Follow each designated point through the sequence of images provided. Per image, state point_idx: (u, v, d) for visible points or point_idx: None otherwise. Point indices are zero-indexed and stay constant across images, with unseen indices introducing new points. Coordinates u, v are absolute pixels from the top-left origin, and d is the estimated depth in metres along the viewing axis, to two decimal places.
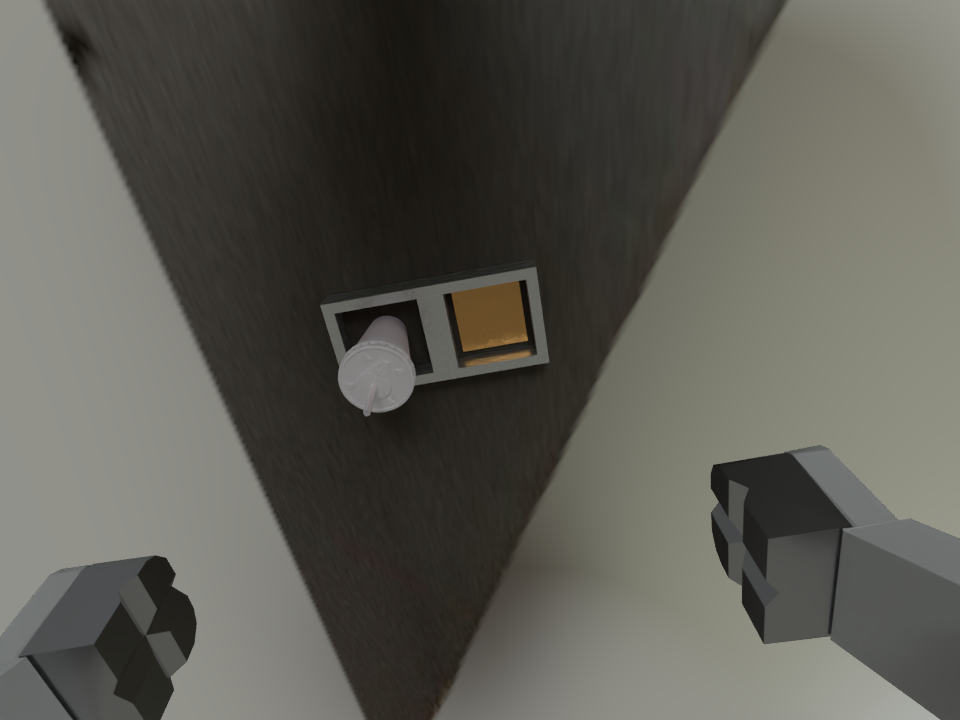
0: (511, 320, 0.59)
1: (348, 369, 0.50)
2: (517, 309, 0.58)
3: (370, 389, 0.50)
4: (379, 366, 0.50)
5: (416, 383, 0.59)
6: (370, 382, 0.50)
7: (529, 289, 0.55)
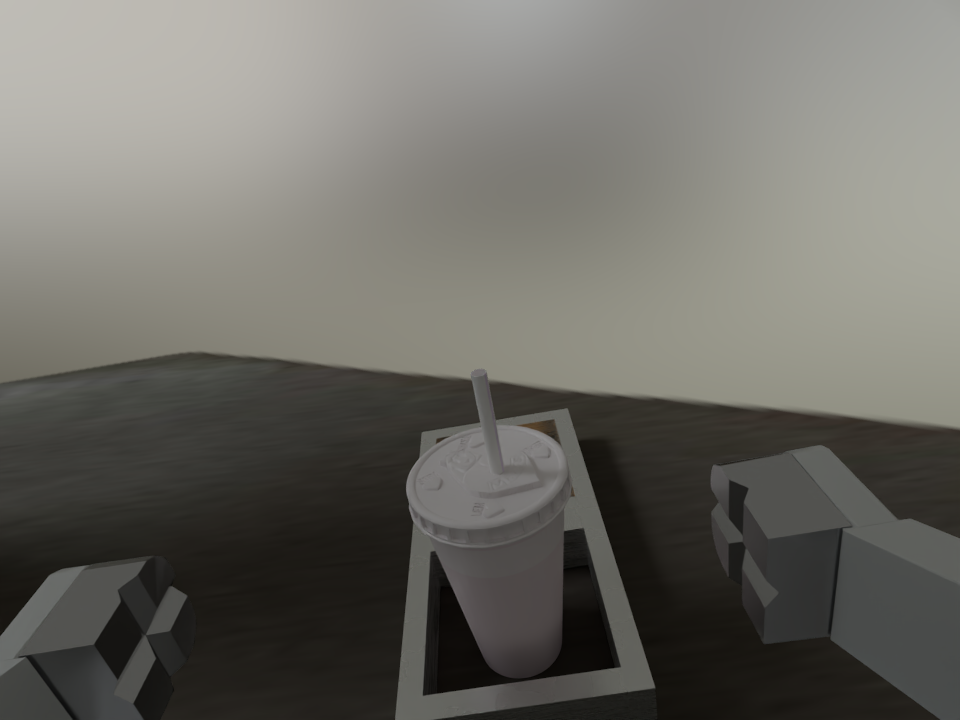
0: None
1: (450, 511, 0.22)
2: None
3: (487, 452, 0.23)
4: (453, 462, 0.24)
5: (608, 553, 0.28)
6: (486, 473, 0.23)
7: (451, 434, 0.39)
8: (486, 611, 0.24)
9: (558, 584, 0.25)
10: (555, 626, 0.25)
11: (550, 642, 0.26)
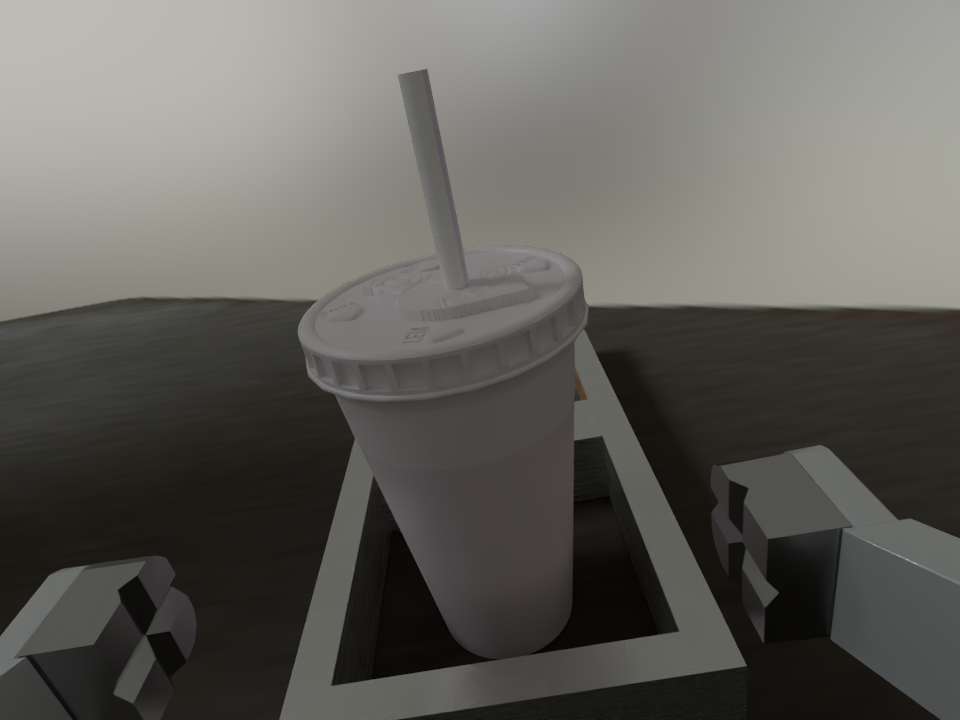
0: None
1: (367, 341, 0.12)
2: None
3: (436, 246, 0.13)
4: (384, 285, 0.14)
5: (643, 465, 0.18)
6: (436, 289, 0.13)
7: None
8: (443, 538, 0.14)
9: (566, 496, 0.15)
10: (562, 571, 0.15)
11: (553, 598, 0.16)
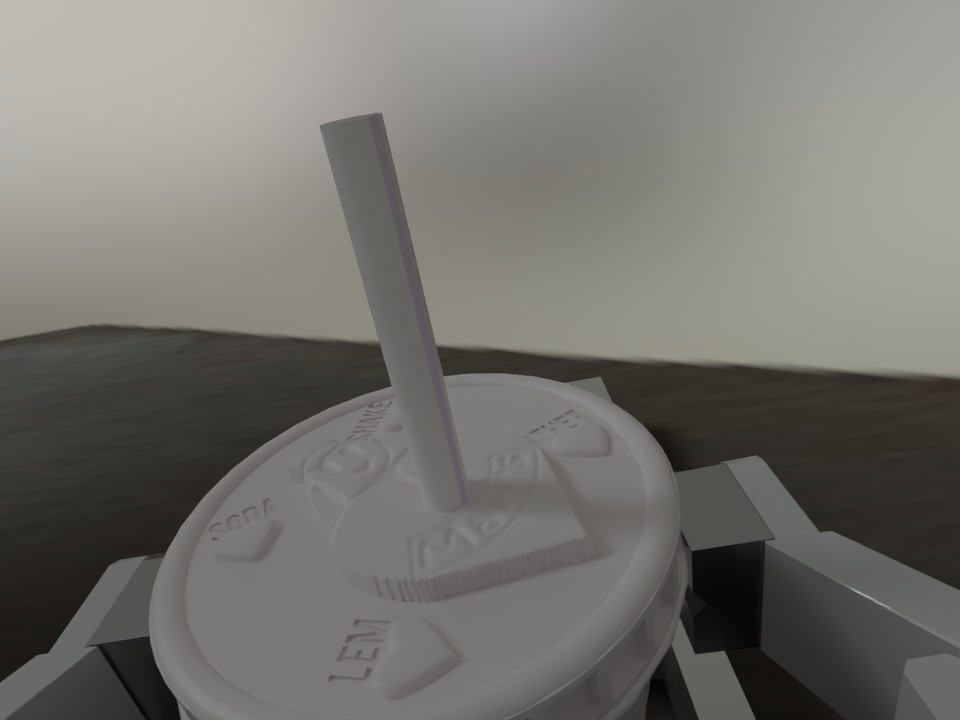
0: None
1: (264, 653, 0.06)
2: None
3: (407, 437, 0.07)
4: (322, 471, 0.08)
5: (726, 677, 0.12)
6: (409, 506, 0.07)
7: None
8: None
9: None
10: None
11: None
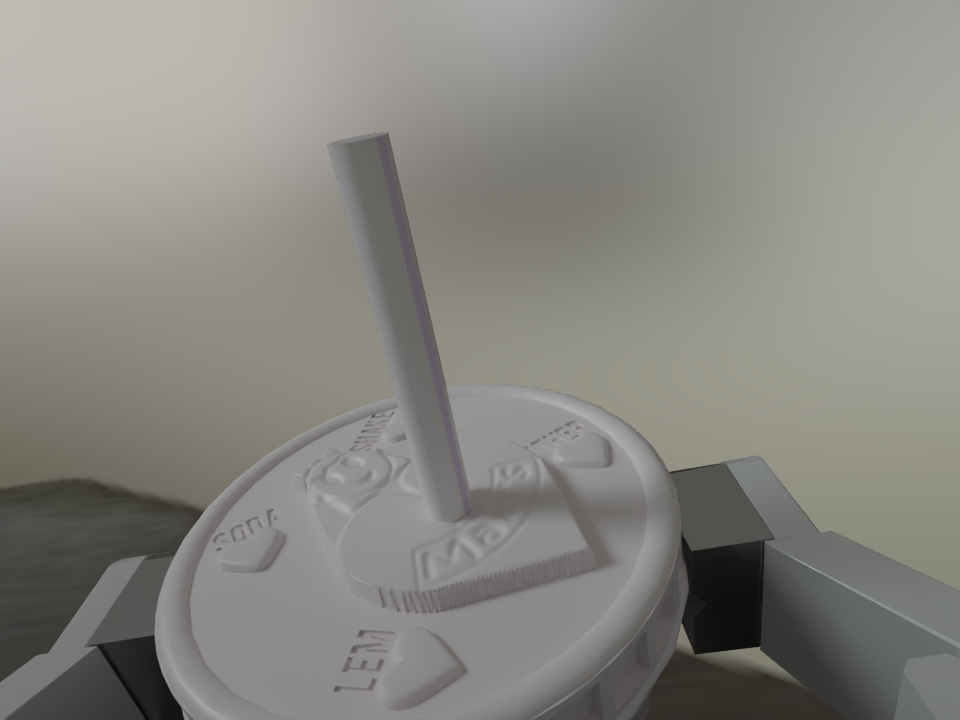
0: None
1: (269, 664, 0.06)
2: None
3: (411, 449, 0.07)
4: (325, 482, 0.08)
5: None
6: (412, 517, 0.07)
7: None
8: None
9: None
10: None
11: None
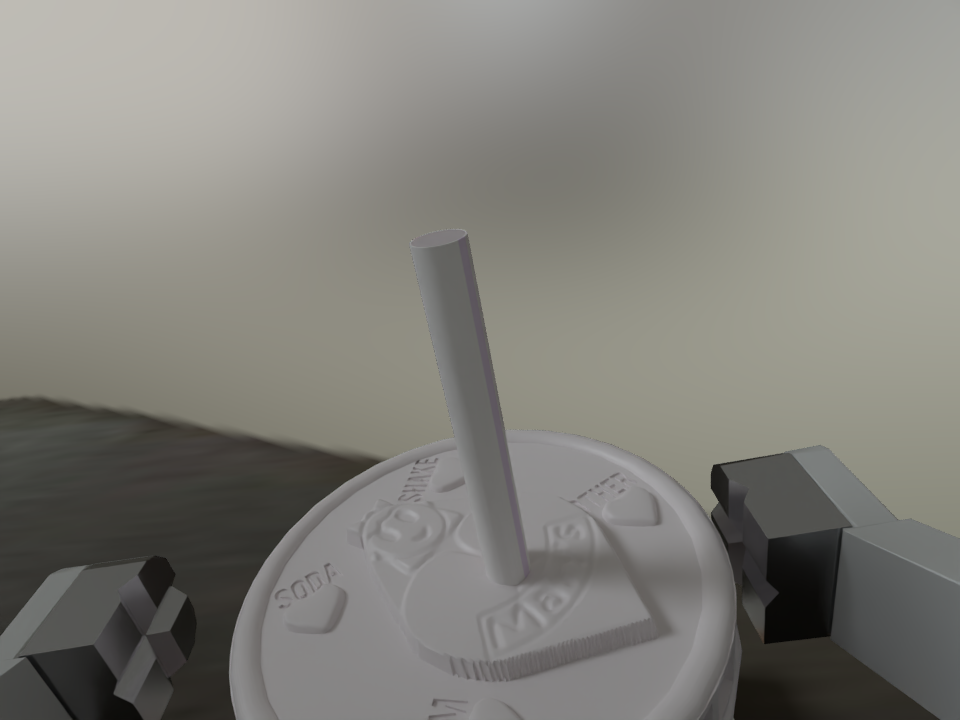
0: None
1: None
2: None
3: (475, 517, 0.07)
4: (381, 538, 0.08)
5: None
6: (473, 580, 0.07)
7: None
8: None
9: None
10: None
11: None
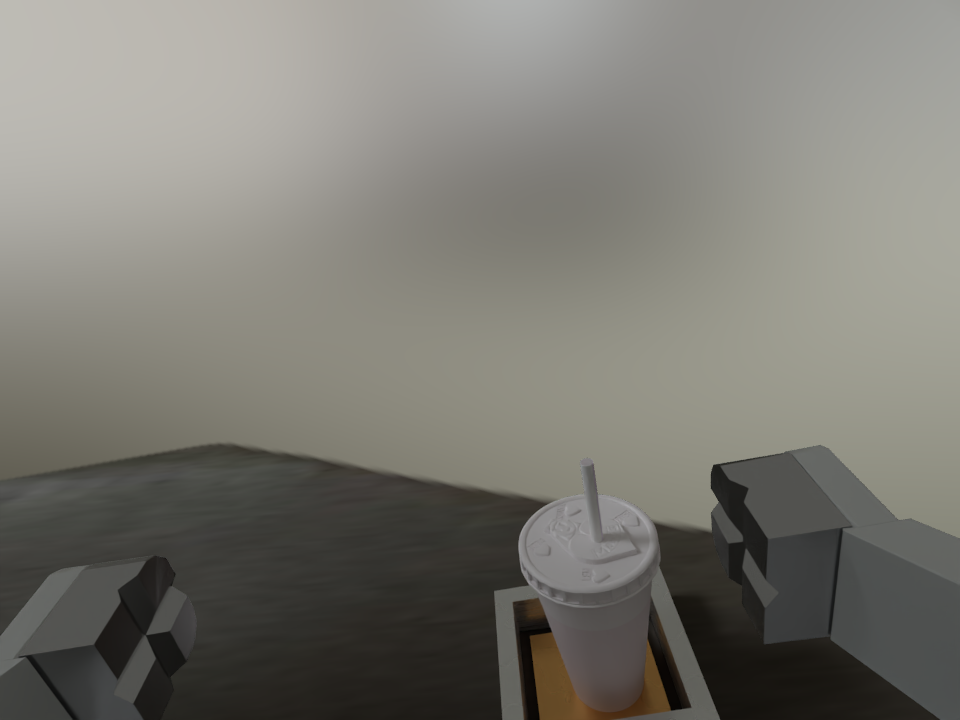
0: None
1: (563, 576, 0.26)
2: None
3: (589, 524, 0.27)
4: (556, 530, 0.28)
5: None
6: (588, 541, 0.27)
7: (529, 597, 0.35)
8: (588, 657, 0.28)
9: (646, 632, 0.29)
10: (642, 667, 0.30)
11: (637, 681, 0.30)
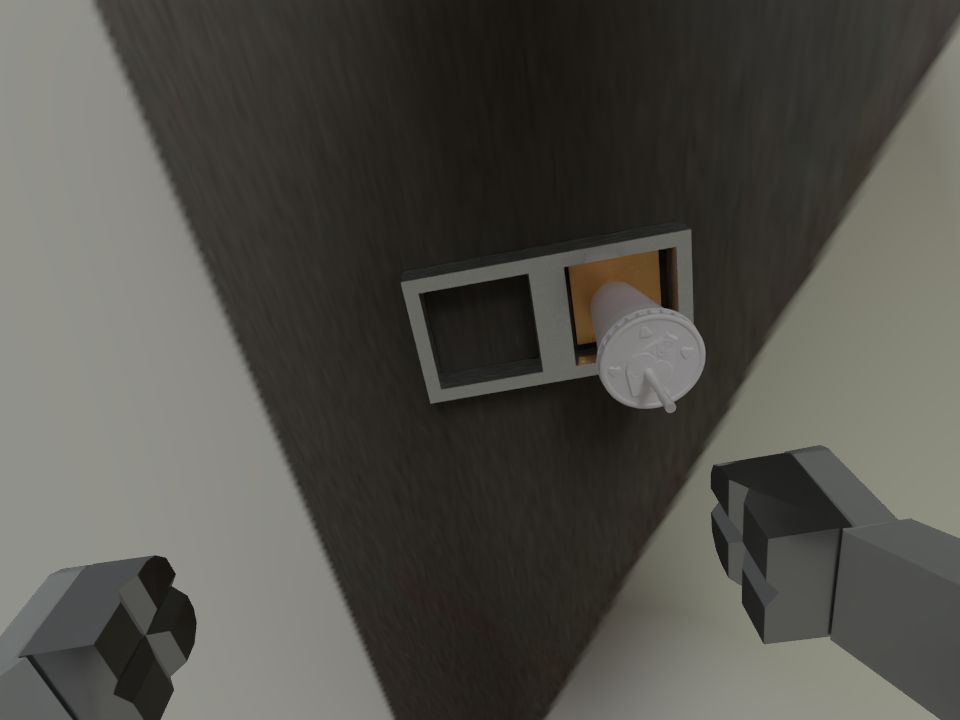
0: None
1: (617, 348, 0.36)
2: (653, 288, 0.44)
3: (651, 376, 0.35)
4: (662, 343, 0.36)
5: (519, 386, 0.45)
6: (646, 366, 0.36)
7: (679, 260, 0.41)
8: (596, 324, 0.40)
9: None
10: None
11: None
